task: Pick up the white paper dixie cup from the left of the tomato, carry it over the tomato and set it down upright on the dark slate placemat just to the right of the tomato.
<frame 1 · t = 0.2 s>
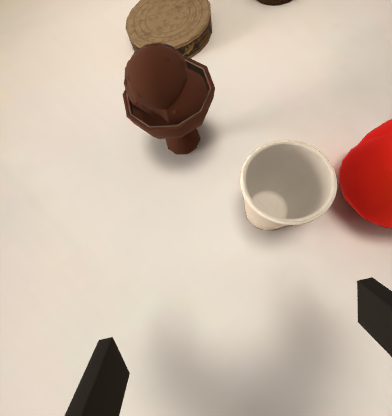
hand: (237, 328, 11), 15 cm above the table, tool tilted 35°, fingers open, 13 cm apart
dixie cup: (266, 210, 28), on the table
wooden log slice: (171, 35, 41), on the table
ice cream bowl: (183, 140, 33), on the table
tomato: (375, 191, 27), on the table
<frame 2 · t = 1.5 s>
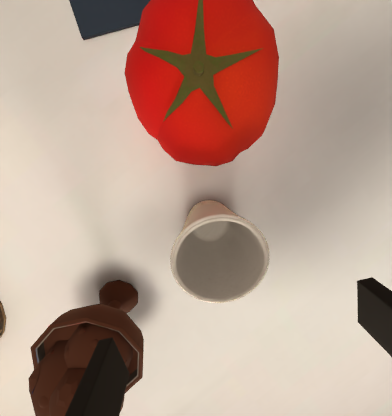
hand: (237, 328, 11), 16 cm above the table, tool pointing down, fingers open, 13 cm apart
dixie cup: (208, 220, 27), on the table
ice cream bowl: (119, 295, 30), on the table
tomato: (199, 101, 23), on the table
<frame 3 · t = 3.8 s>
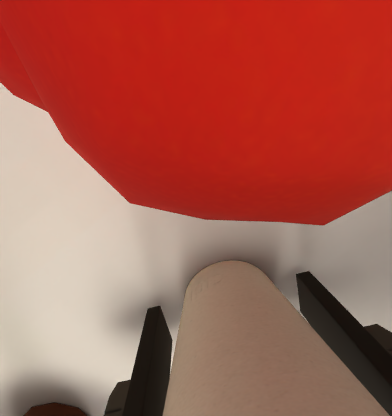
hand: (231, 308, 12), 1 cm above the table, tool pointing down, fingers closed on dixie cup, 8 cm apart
dixie cup: (228, 297, 13), on the table, touching gripper
tomato: (212, 35, 9), on the table
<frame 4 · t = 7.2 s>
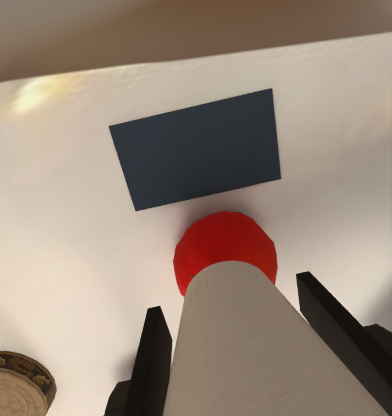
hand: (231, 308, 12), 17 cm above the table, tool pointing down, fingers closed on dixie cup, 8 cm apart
dixie cup: (228, 297, 13), point 16 cm above the table, touching gripper
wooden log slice: (10, 384, 37), on the table
placemat: (199, 153, 27), on the table
tomato: (218, 245, 31), on the table
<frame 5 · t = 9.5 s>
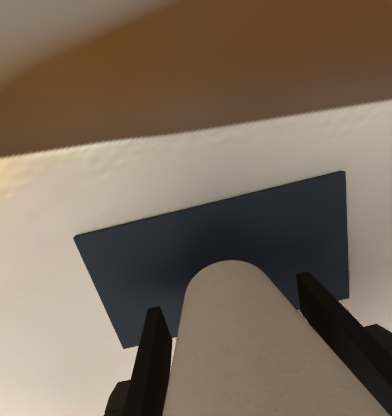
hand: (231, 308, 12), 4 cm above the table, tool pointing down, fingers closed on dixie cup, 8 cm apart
dixie cup: (228, 297, 13), point 4 cm above the table, touching gripper
placemat: (221, 267, 17), on the table
when the fingers open (1 cm above the table, at t = 11.0 s): dixie cup stays where it is, resting on placemat.
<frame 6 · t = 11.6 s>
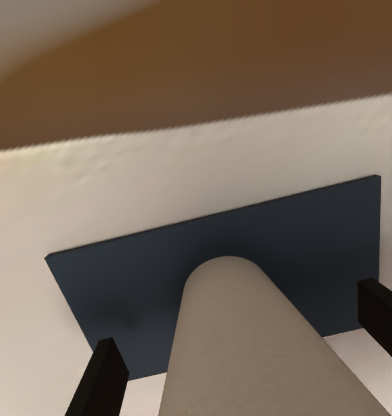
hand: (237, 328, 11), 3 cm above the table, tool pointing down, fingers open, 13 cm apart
dixie cup: (225, 292, 14), resting on placemat
placemat: (226, 290, 14), on the table
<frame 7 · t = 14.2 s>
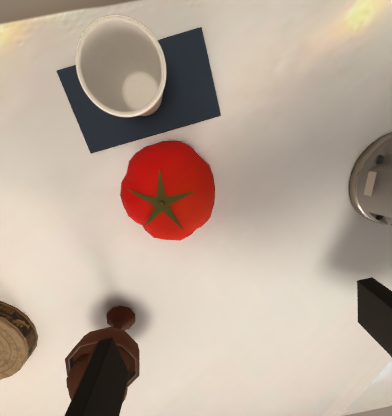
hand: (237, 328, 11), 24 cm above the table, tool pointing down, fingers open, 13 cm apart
dixie cup: (142, 94, 29), resting on placemat
ice cream bowl: (121, 316, 40), on the table
placemat: (142, 94, 29), on the table
tomato: (171, 185, 33), on the table
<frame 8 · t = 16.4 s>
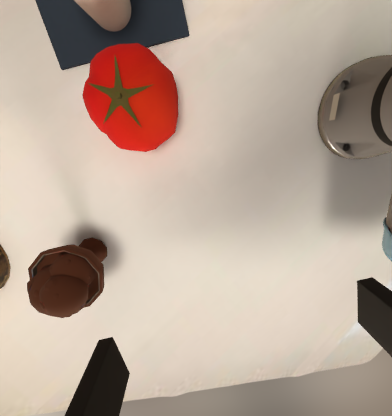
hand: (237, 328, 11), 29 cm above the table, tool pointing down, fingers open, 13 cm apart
dixie cup: (111, 8, 30), resting on placemat
ice cream bowl: (93, 250, 41), on the table
placemat: (112, 9, 30), on the table
tomato: (142, 109, 34), on the table
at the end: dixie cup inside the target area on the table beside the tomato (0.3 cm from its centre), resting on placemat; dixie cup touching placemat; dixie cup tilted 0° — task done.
